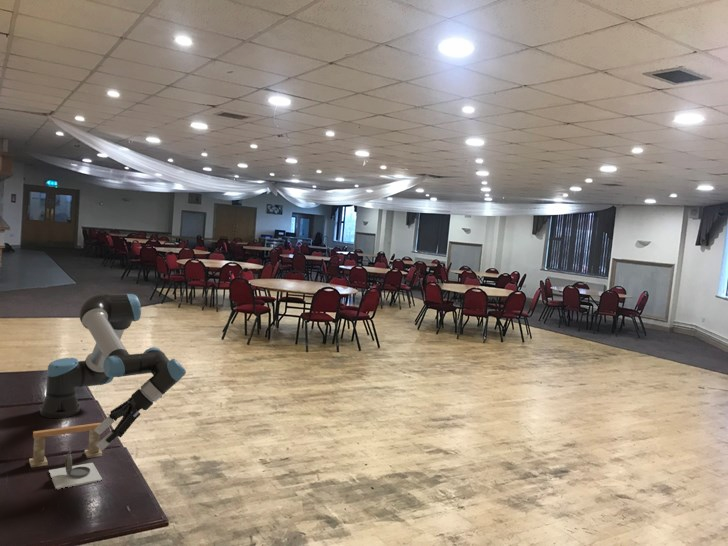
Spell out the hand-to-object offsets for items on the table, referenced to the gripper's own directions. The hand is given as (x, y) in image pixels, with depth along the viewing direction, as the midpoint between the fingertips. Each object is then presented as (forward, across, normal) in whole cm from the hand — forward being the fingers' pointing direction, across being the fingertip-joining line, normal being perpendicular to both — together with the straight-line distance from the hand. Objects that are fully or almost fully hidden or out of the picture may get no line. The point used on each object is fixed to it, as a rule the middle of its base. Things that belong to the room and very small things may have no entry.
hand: (97, 439), depth 190 cm
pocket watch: (+13, +1, -4) cm, 14 cm away
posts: (+15, +15, -3) cm, 22 cm away
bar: (+8, +15, +4) cm, 18 cm away
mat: (+13, 0, -4) cm, 14 cm away
